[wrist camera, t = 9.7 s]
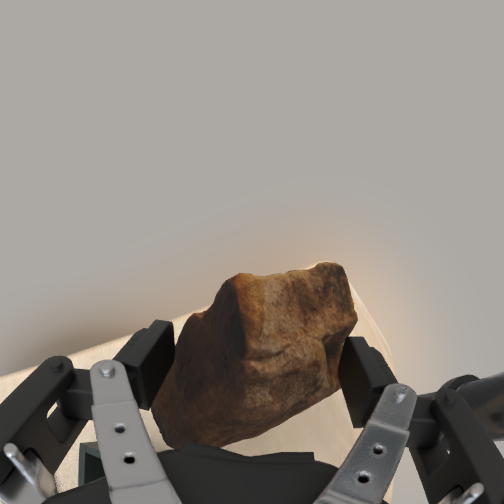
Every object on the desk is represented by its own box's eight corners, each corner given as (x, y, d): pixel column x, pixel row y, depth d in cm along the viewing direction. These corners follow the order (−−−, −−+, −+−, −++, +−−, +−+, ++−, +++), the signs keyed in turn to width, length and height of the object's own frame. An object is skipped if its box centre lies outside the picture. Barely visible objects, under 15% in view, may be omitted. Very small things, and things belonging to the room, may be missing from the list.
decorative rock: (310, 326, 19) (344, 215, 11) (348, 398, 16) (434, 334, 7) (152, 380, 17) (61, 304, 8) (176, 461, 13) (77, 465, 5)
